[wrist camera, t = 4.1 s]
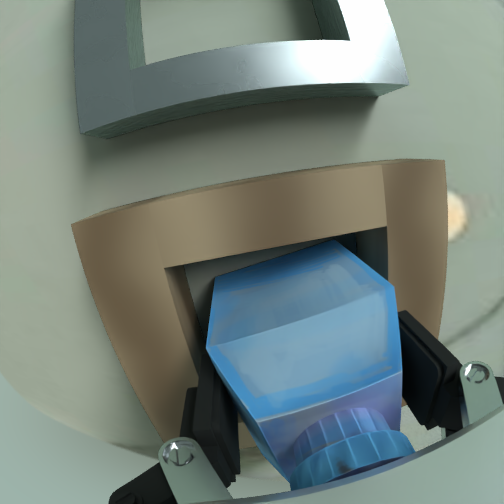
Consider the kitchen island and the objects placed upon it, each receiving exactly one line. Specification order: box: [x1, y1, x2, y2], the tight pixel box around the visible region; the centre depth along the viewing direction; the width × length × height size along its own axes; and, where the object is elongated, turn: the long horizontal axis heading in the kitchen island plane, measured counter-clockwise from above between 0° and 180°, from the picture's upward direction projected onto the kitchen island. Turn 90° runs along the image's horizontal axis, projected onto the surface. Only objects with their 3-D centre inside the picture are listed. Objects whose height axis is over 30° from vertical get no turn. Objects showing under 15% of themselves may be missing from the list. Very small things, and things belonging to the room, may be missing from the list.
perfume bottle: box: [206, 240, 415, 491], centre depth 10 cm, size 6×6×12 cm
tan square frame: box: [71, 159, 448, 449], centre depth 14 cm, size 16×14×4 cm
